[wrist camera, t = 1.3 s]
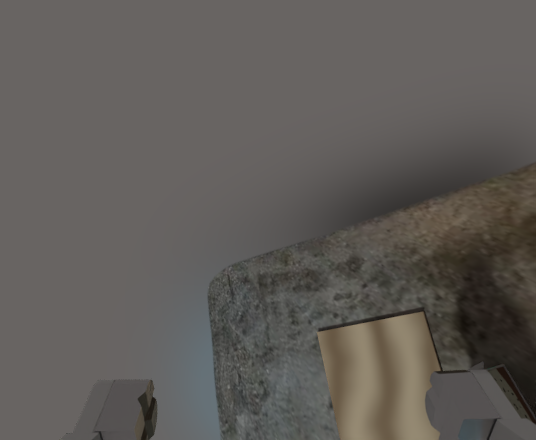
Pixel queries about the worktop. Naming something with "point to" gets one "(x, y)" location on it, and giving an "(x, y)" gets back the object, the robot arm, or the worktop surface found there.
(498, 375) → the food container
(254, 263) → the worktop surface
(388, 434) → the oak board
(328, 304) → the worktop surface
